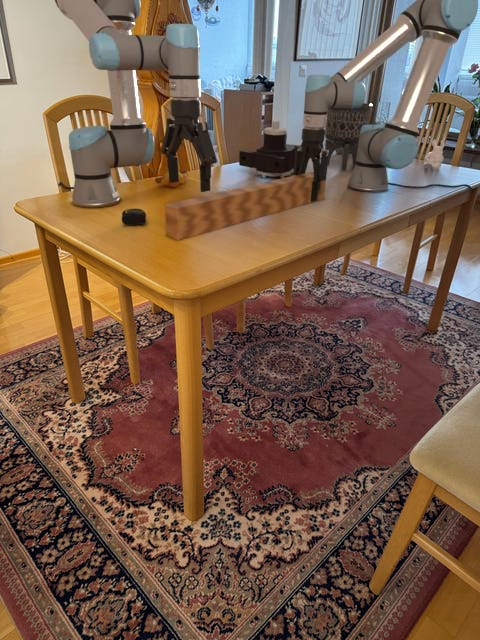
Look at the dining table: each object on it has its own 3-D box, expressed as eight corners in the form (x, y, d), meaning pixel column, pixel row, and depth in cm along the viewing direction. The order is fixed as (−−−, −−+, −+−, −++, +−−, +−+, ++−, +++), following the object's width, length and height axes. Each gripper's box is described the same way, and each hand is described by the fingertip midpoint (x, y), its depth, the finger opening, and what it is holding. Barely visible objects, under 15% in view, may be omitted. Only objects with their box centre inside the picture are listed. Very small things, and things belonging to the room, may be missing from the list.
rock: (349, 150, 248) (350, 137, 244) (362, 152, 242) (364, 139, 239) (333, 152, 240) (335, 139, 237) (346, 155, 235) (348, 142, 231)
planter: (313, 167, 208) (319, 103, 195) (331, 160, 222) (338, 101, 209) (353, 173, 199) (362, 107, 185) (369, 166, 213) (379, 104, 199)
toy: (151, 179, 167) (162, 169, 180) (158, 195, 170) (169, 185, 183) (178, 169, 164) (188, 160, 177) (185, 186, 167) (194, 176, 180)
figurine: (444, 167, 214) (450, 138, 207) (436, 172, 203) (443, 142, 197) (426, 165, 218) (432, 136, 211) (417, 170, 207) (424, 140, 200)
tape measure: (122, 227, 131) (120, 215, 129) (123, 220, 136) (122, 208, 135) (146, 227, 132) (145, 214, 130) (147, 219, 137) (145, 207, 136)
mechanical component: (240, 120, 182) (283, 115, 202) (239, 174, 192) (280, 164, 212) (283, 126, 170) (325, 120, 190) (280, 183, 180) (320, 171, 200)
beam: (312, 195, 166) (314, 171, 161) (323, 198, 163) (326, 173, 158) (166, 235, 126) (164, 204, 122) (177, 240, 123) (176, 208, 119)
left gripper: (144, 96, 117) (151, 180, 127) (206, 102, 101) (208, 197, 112) (167, 95, 121) (172, 176, 132) (231, 101, 106) (230, 192, 116)
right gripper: (285, 125, 152) (280, 195, 164) (329, 132, 141) (321, 206, 152) (299, 124, 156) (294, 191, 168) (343, 130, 145) (334, 202, 157)
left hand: (189, 186), depth 122 cm, fingers open, 13 cm apart
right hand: (307, 198), depth 160 cm, fingers closed on beam, 5 cm apart
